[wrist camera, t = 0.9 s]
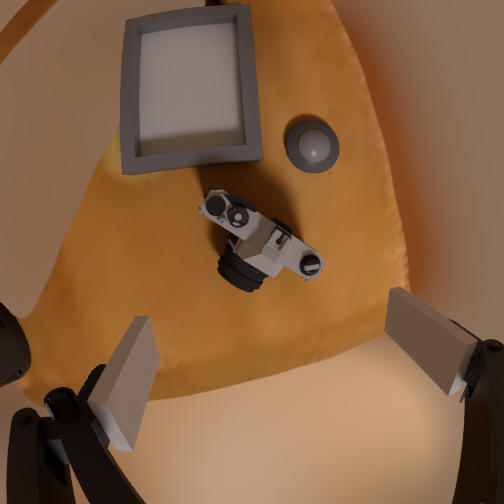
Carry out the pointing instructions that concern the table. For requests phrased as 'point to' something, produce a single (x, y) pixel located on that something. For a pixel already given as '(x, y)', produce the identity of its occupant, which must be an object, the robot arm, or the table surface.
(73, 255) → the table surface
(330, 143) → the lens cap
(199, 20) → the case tray
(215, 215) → the camera
